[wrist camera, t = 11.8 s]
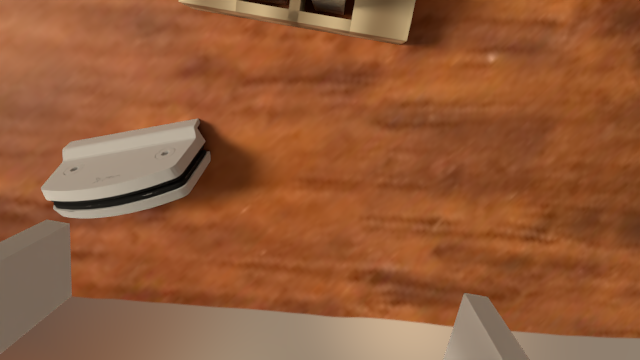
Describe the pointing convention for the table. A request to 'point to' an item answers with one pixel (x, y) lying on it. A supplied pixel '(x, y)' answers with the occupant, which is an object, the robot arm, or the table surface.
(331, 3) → the grey notched block
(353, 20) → the beige open box
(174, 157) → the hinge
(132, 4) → the table surface
